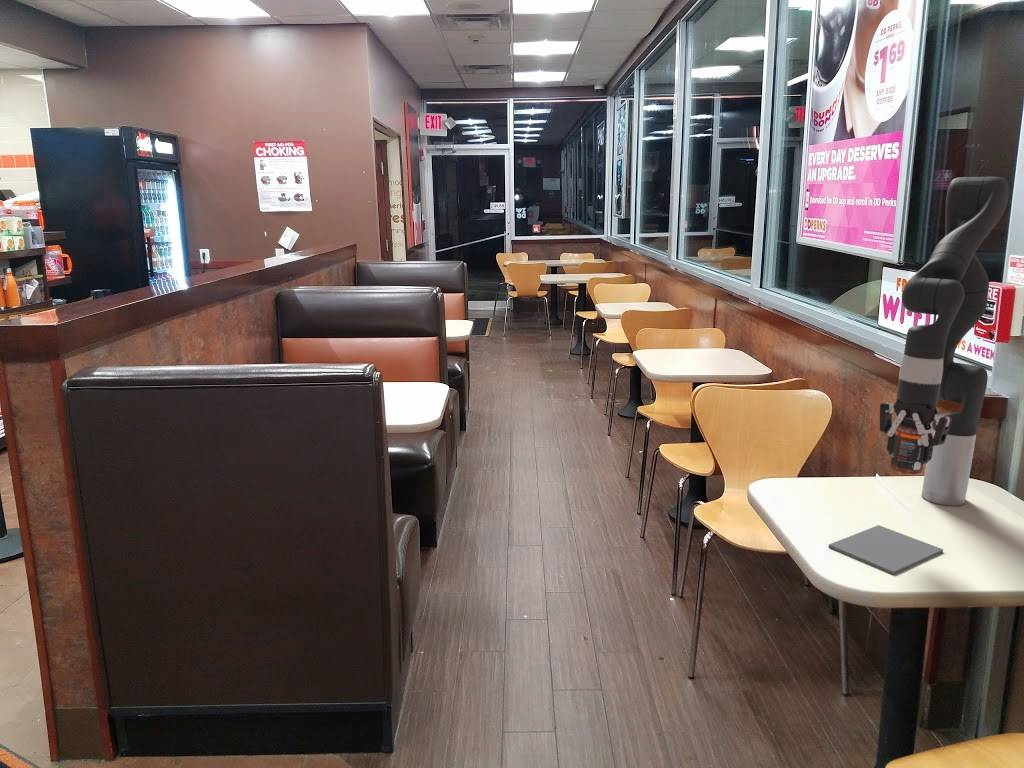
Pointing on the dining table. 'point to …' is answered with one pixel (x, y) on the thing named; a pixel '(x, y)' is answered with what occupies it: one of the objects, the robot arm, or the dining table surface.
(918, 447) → the supplement bottle
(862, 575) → the dining table surface
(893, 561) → the mat
